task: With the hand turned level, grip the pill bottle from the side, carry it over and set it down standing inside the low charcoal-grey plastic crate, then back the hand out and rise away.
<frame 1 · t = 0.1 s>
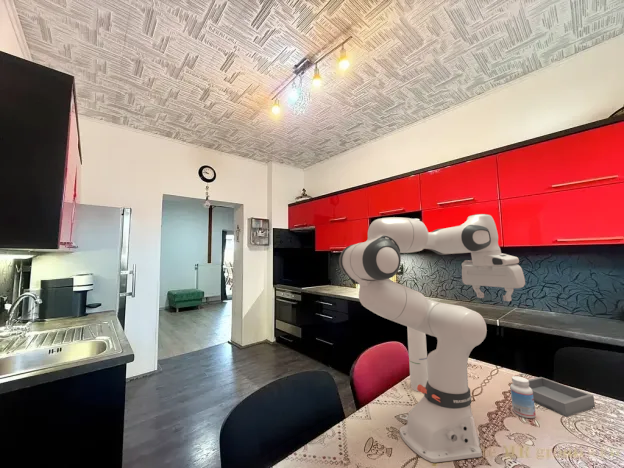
hand: (493, 299, 89), 39 cm above the table, tool pointing down, fingers open, 8 cm apart
pill bottle: (524, 414, 87), on the table
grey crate: (553, 400, 95), on the table
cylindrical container: (419, 388, 106), on the table
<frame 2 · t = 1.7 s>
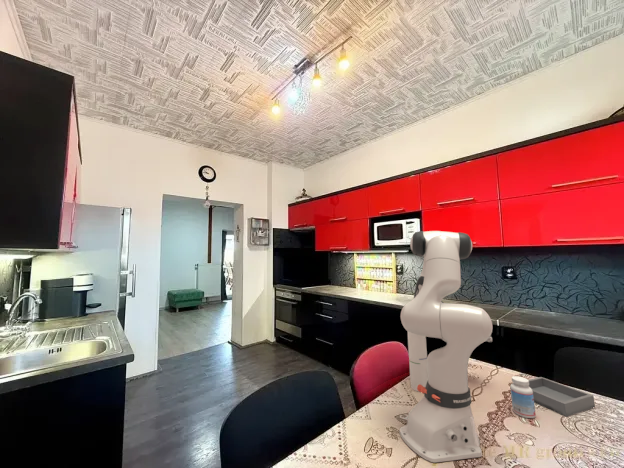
hand: (482, 341, 101), 20 cm above the table, tool horizontal, fingers open, 8 cm apart
nothing on the table moved.
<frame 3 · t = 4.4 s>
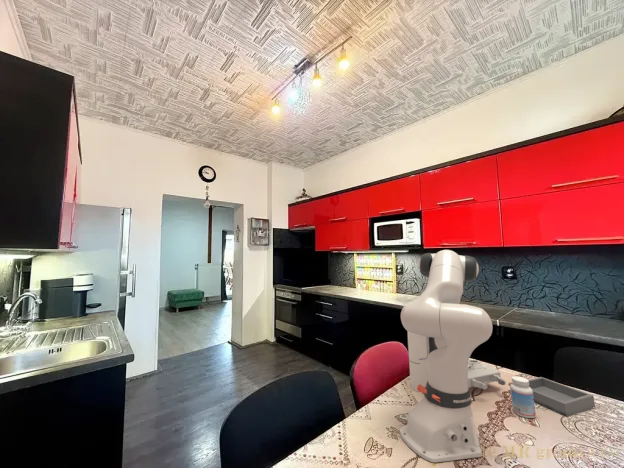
hand: (495, 384, 96), 5 cm above the table, tool horizontal, fingers open, 8 cm apart
nothing on the table moved.
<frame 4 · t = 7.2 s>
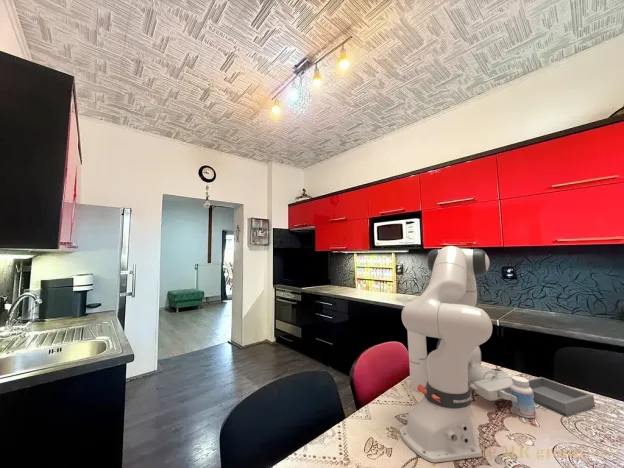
hand: (525, 397, 87), 6 cm above the table, tool horizontal, fingers closed on pill bottle, 6 cm apart
pill bottle: (524, 414, 87), on the table, touching gripper
everything else where it was.
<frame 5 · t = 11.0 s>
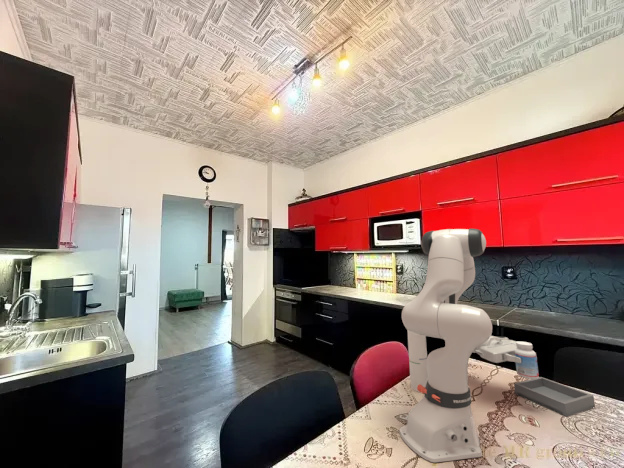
hand: (528, 359, 90), 17 cm above the table, tool horizontal, fingers closed on pill bottle, 6 cm apart
pill bottle: (527, 376, 90), point 11 cm above the table, touching gripper
everything else where it was.
when the fingers open (8 cm above the table, at t = 15.0 s): pill bottle stays where it is, resting on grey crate.
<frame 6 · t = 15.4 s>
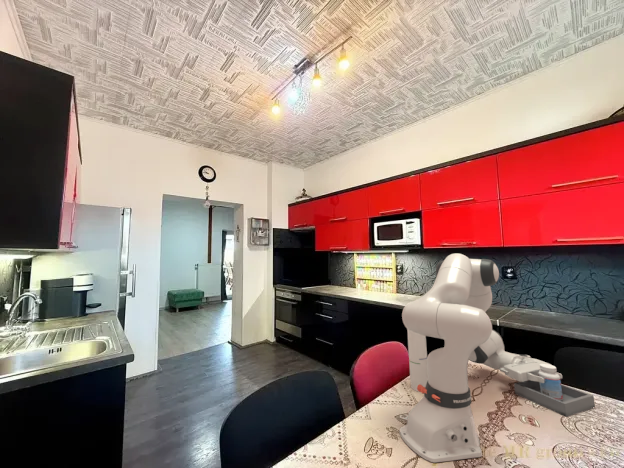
hand: (553, 378, 95), 8 cm above the table, tool horizontal, fingers open, 8 cm apart
pill bottle: (551, 398, 95), point 1 cm above the table, touching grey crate
everything else where it was.
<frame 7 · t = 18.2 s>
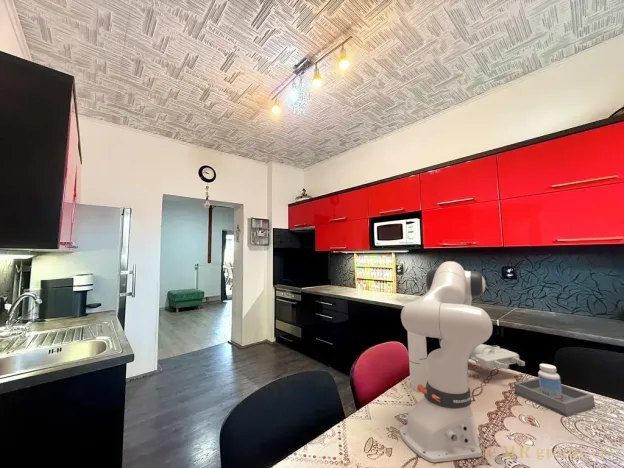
hand: (516, 365, 107), 8 cm above the table, tool horizontal, fingers open, 8 cm apart
nothing on the table moved.
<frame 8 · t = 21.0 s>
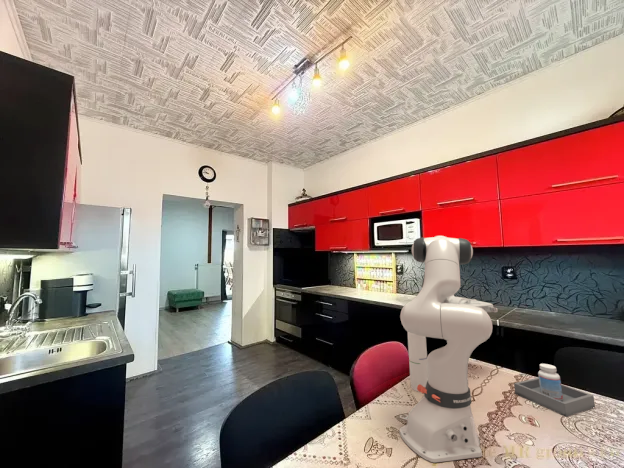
hand: (488, 311, 112), 30 cm above the table, tool horizontal, fingers open, 8 cm apart
nothing on the table moved.
at the end: pill bottle inside the target area on the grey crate (0.5 cm from its centre), point 0.8 cm above the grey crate's base; pill bottle tilted 0°; the gripper is holding nothing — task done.
